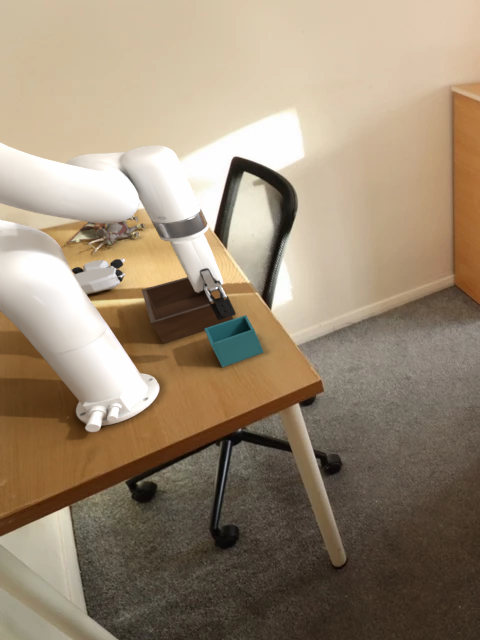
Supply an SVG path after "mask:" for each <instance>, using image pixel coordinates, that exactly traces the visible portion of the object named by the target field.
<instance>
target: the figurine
mask: <svg viewBox="0 0 480 640" xmlns="http://www.w3.org/2000/svg"><path fill="white" fill-rule="evenodd" d="M128 221H133V222H134V221H135V222H136V223H137V224H136V225H134V226H130V227H129V225H128V224H127V222H128ZM139 221H140V220H139V216H135V215H133V216H132V217H131V218H129V219H127V220H125V221H123V222H119V223H110V224H103V223H92V222H87V223H85V224H84V225H83V226H82V227H81V228H80V229H79V230H78V231H76V233H75V234H74V235H73V236H72V237H71V238H70V239H69V240H67V244H70V243H72V242H76V243H79V242H82V241H90V242H89V243H88V244H87V245H88V246H91V247H93V248H94V251H93V254H95V253H98V250H99V249H100V248H102V247H103V246H104V245H107V246H114V245H115V244H116V241H118V240H122V239H127V238H133V237H134V238H135V237H136V238H138V239H139V238H140V236H139V234H140V232H138V231H137V230H142V229H146V226H145V223H139ZM135 231H137V232H135ZM98 242H100V244H98V246H97V247H95V246H93V245H92V244H94V243H98Z"/></svg>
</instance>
